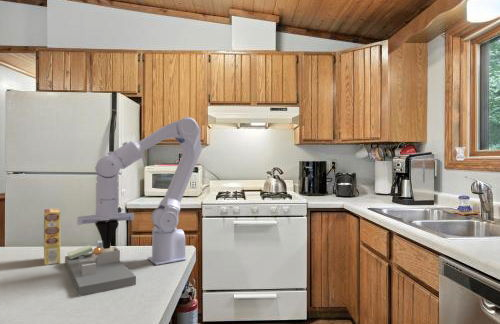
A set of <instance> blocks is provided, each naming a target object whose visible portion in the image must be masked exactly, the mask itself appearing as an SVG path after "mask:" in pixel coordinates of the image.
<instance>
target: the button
mask: <svg viewBox="0 0 500 324" xmlns="http://www.w3.org/2000/svg"><path fill="white" fill-rule="evenodd" d="M114 247H115V246H113V245H110V248H107V249H104V248H103V247H100V248H101V249H102V252H101V253H103V252H110V251H114Z"/></svg>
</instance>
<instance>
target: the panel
mask: <svg viewBox="0 0 500 324" xmlns="http://www.w3.org/2000/svg"><path fill="white" fill-rule="evenodd" d="M113 247H114V251H110V252H103V253H101V254H100V255H98V256H97V258H96V260H95V261H94V263H91V264H87V263H88V262H89V260H90V258H91V256H92V255H93V251H91V252H89V253H86V254H84V255H81V256H78V257H76V258H73V259H70V258H69V256H68V255H66V256H64V264H65V266H66V269H67V270H68V273H69V275H70V278H71V280H72V283H73V285H74V287H75V289H76V291H77V294H78V296H79V297H81V296H82V297H83V296H88V295H92V294H97V293H102V292H103V293H104V292H108V291H112V290H116V289H122V288H126V287H131V286H136V285H137V276H136V275H135V274H134V273H133V272H132V271H131V270H130V269H129V268H128V267H127V266H126V265H125V264H124V263H123V262H121V259H120V257H121V254H120V253H121V251H120V249H119V248H118V247H116V246H113Z"/></svg>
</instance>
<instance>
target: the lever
mask: <svg viewBox="0 0 500 324" xmlns="http://www.w3.org/2000/svg"><path fill="white" fill-rule="evenodd" d="M92 252H93V255H92V256H91V258H90V260H89V262H88V263H87V264H91V263H94V261H95V260H96V258H97V256H98V255H100V254H101V252H102V249H101V248H100V247H97V246H95V248H94V249H93V251H92Z"/></svg>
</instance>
